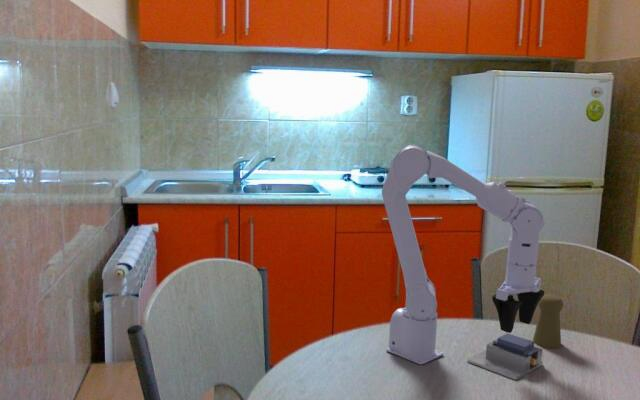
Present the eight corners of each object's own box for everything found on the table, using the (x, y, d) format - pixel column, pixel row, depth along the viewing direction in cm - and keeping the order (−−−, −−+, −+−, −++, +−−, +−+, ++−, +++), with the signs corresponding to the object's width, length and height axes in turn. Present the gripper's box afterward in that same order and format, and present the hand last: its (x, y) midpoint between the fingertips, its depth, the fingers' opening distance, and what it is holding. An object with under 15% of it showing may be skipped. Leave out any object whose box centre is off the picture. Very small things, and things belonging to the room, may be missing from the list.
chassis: (467, 361, 127) (468, 345, 127) (495, 348, 135) (496, 333, 134) (516, 380, 119) (517, 363, 119) (542, 364, 127) (544, 348, 126)
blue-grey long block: (491, 356, 129) (493, 336, 128) (501, 351, 131) (503, 331, 131) (529, 370, 122) (531, 349, 122) (539, 365, 125) (541, 344, 124)
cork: (563, 349, 135) (568, 301, 133) (534, 346, 136) (539, 299, 135) (558, 339, 141) (563, 293, 139) (531, 336, 142) (535, 290, 140)
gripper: (522, 273, 116) (515, 341, 118) (557, 261, 126) (550, 324, 128) (489, 265, 121) (483, 330, 123) (525, 254, 131) (519, 314, 133)
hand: (515, 326), depth 126 cm, fingers open, 7 cm apart
